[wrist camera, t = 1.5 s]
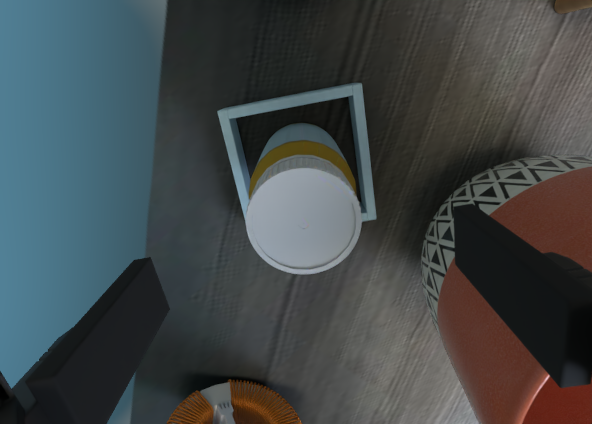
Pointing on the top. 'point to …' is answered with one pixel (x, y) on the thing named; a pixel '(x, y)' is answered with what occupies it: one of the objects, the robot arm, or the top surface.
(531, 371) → the planter
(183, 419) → the coil
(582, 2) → the stool
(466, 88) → the top surface
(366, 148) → the square tray frame
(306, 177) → the bottle
